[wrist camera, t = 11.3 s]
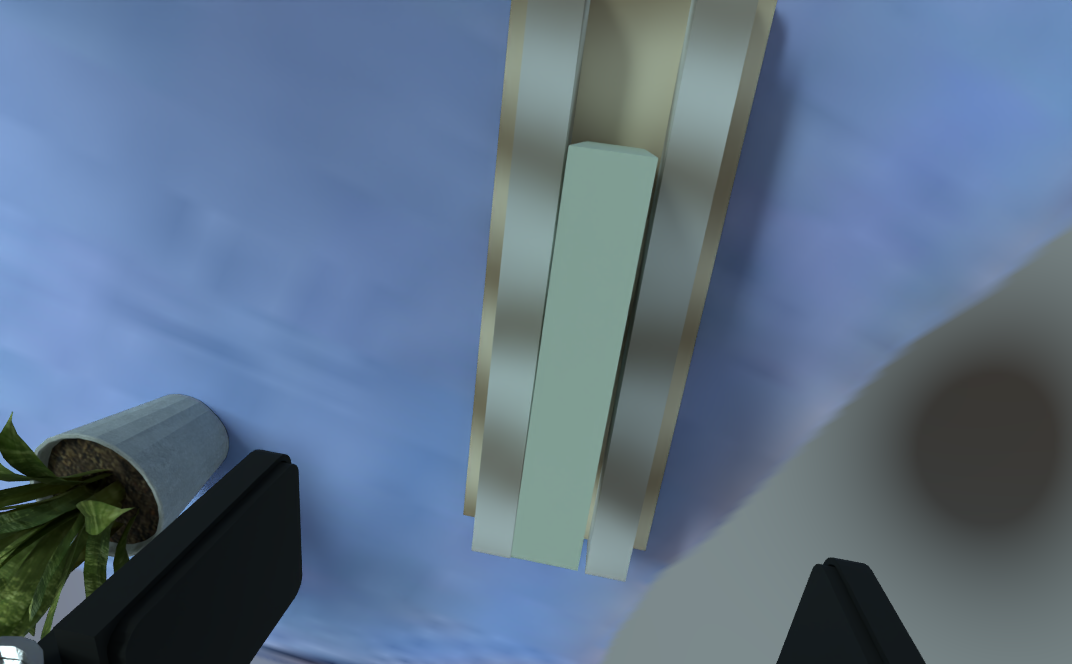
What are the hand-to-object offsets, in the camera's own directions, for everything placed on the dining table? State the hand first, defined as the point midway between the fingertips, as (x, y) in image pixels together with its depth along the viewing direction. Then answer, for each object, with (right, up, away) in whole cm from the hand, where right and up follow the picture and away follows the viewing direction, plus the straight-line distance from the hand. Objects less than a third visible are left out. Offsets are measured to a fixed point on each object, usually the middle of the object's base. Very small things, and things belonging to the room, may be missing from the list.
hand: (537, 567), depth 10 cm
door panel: (+2, +6, +16) cm, 17 cm away
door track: (+3, +6, +17) cm, 18 cm away
